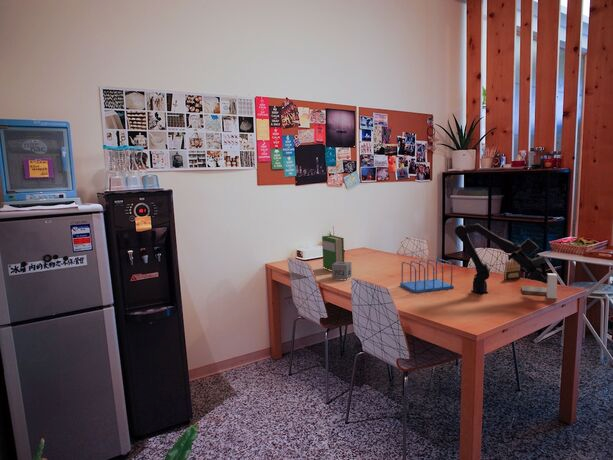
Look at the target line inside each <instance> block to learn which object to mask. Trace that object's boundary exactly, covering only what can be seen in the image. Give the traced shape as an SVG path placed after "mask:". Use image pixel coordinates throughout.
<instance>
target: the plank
mask: <svg viewBox="0 0 613 460" xmlns="http://www.w3.org/2000/svg"><path fill="white" fill-rule="evenodd" d="M520 290H521V293H522V295H530V296H531V295H534V296H545V297H547V296H546V295H547V286H546V287H544V286H529V285H521V289H520Z"/></svg>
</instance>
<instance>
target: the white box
mask: <svg viewBox="0 0 613 460" xmlns="http://www.w3.org/2000/svg"><path fill="white" fill-rule="evenodd" d="M546 281H547V283H546V287H547V295H546V296H545V297H546V298H547V299H557V297H558V296H557V295H558V294H557V291H558V275H557V273H553V272H552V273H549V272H547V273H546Z"/></svg>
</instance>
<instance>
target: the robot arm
mask: <svg viewBox="0 0 613 460" xmlns="http://www.w3.org/2000/svg"><path fill="white" fill-rule="evenodd" d="M475 232H476V233H478V234H480V235H481V236H483V237H485V238H486V239H487V240H489V241H491V242H493V244H495V245H497V246H498V248H499V249H500V250H501V251H503V252H504V253H505V254H507V261H511V260H512V261H513V260H514V261H516V262H517V263H518V264H519V265H520V269H523V270H524V271H525V272H526V274H528V278H529V279H530V280H531V281H533V280H536V281H539V282H541V283H543V284H547V278H546V277H545V276H544V275H543V274H542V273H543V271H542V269H541V267H540V265H542V264H546V263H547V261H546V259H545V256H544V255H540V254H539V253H538V254H535V257H534V258H531V257H528V256H527V255H532V254H533V253H535V251H537V250H538V249H539V248H540V247H539V246H538V245H537V244H536V243H535V242H534V241H532V240H531V239H530V238H527V239H526V240H525V241H523V242H522V243H521V244H520V243H518V244H517V243H513V241H510V240H508V239H506V238H503V237H500V236H498V235H497V234H496V233H493V232H492V231H490V230H489V229H487V228H485V227H484V226H483V225H481V224H480V223H475V224H468V225H464V224H458V225H457V226H455V229H454V233H455V235H456V236H457V237H458V239H459V241H461V242H462V244H463V245H464V248H465V249H466V251H467V253H468V255H469V257H470V259H471V261H472V262H473V264H474V266H475V270H476V271H475V272H476V274H475V275H473V276H474V277H473V280H472V289H471V290H470V292H472V293H474V294H477V295H481V294H488V293H489V291H487V290H488V287H487V286H488V284H487V281H486V280H488V279H489V278H490V273H491V272H490V271H491V270H490V269H491V268H489V267H488V264H487V263H484V262H483V261H482V260H481V258H480V256H479V253H478V252H477V250H476V249H475V247H474V245H473V242H472V241H471V239H470V236H469V234H471V233H472V234H473V233H475Z"/></svg>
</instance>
